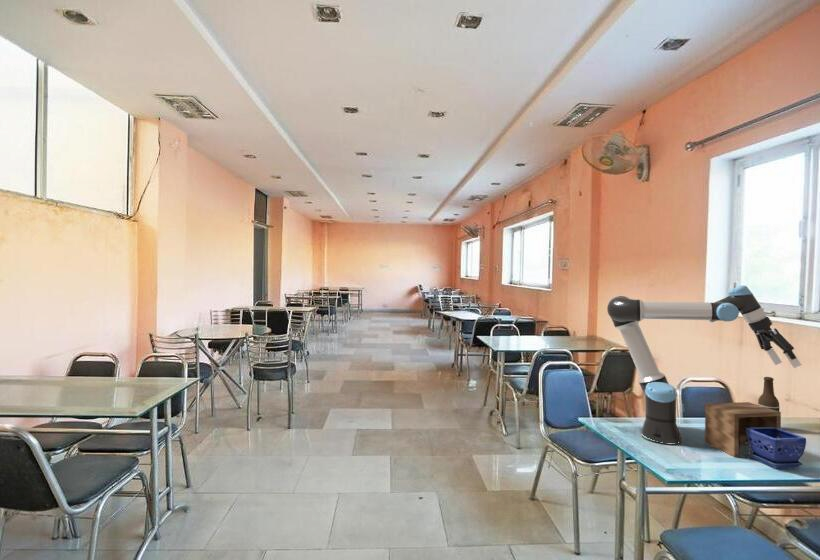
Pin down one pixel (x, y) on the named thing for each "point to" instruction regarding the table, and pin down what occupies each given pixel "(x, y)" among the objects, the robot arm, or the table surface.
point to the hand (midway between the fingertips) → (787, 365)
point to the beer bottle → (768, 395)
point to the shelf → (735, 424)
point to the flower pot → (776, 446)
